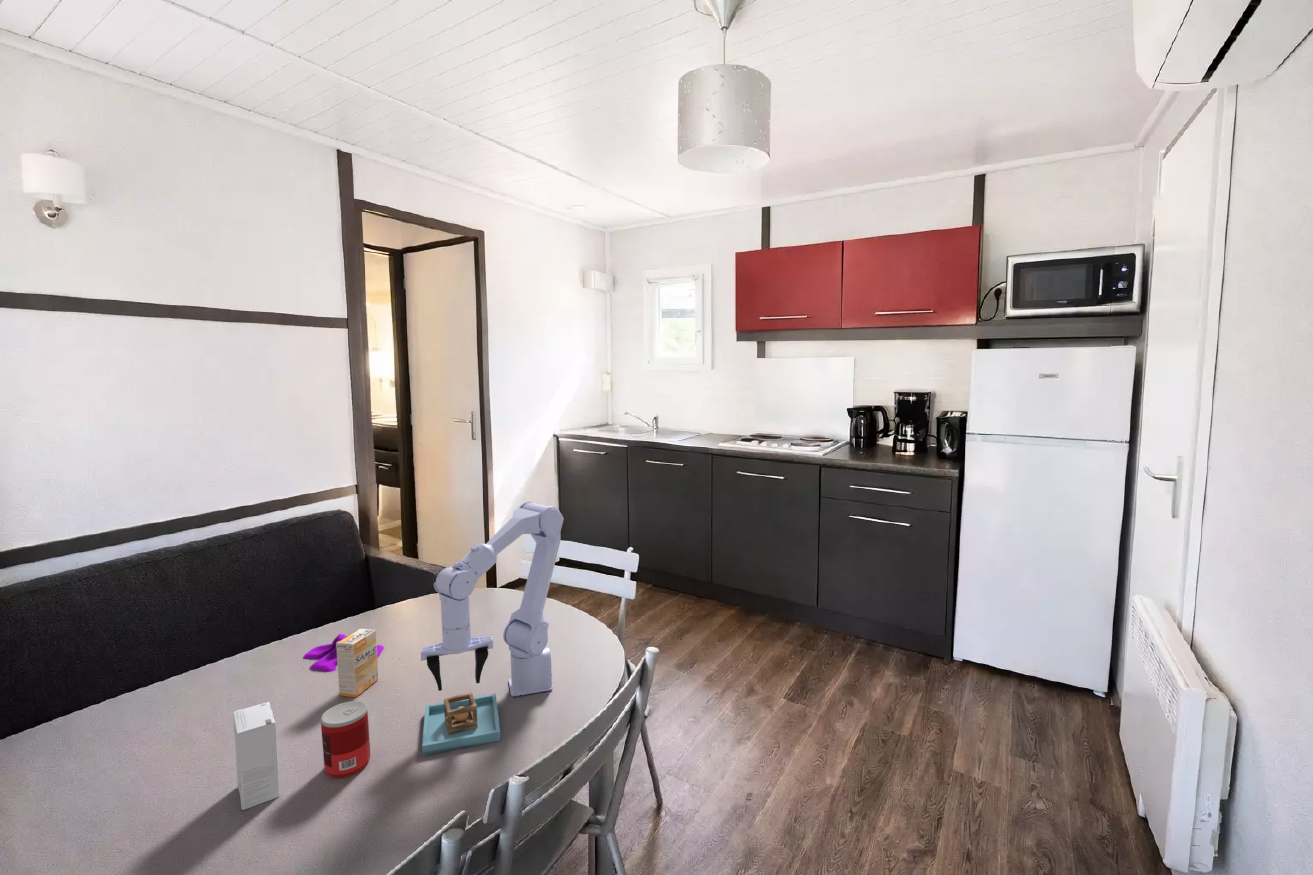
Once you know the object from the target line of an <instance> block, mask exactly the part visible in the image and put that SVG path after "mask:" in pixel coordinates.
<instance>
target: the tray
mask: <svg viewBox="0 0 1313 875" xmlns="http://www.w3.org/2000/svg"><path fill="white" fill-rule="evenodd" d="M496 694H497V693H491V694H486V695H479V696H473V697H474V700H475V702H476V705H477V725H478V728H475V729H471V730H467V731H463V732H460V733H456V734H452V735H449V734H448V730H447V727H446V723H445V713H444V701H443V702H437V703H431V704H425V707H424V708H425V709H424V719H423V720H424V722H423V729H422V730H423V732H422V744H421V750H422V753H421V754H422V756H427V755H433V754H438V753H443V752H448V751H453V750H458V749H463V748H469V747H474V746H479V745H484V744H489V743H495V742H500V741H501V728H500V727H501V726H500V718H499V710H498V702H497V695H496ZM449 706H450V709H451V710H453V709H457V708H458V707H461V706H463V707H465V706H469V699H466V700H462V701H458V702H454V703H450V704H449Z"/></svg>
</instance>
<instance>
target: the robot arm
mask: <svg viewBox="0 0 1313 875" xmlns="http://www.w3.org/2000/svg"><path fill="white" fill-rule="evenodd" d="M564 520H565V519H564V516H563V514H562V513H561V511H560V510H559V508H558V507H556V506H549V505H546V504H540V503H536V502H532V501H524V502H523V503H522V504H521V505H520V506H519V507H517V508H516V509H515V510H514V511H513V515H512V517H511V518H510V519H509V520H508V521H507V522H506V523H505V524H504V525H503V526H502V527H501V528H500V529H499V530H498V531H497V532H496V533H495V534H494V535H493V536H492V537H491V538H490V539H489V540H488V541H487V542H486V543H478V544H477V545H476V544H473V546H471V547H470V550H469V552H467V553H466V554H465V555H464V556H462V558H460V559H459V560H457V561H455V562H454V564H453V565H452V566H449V567H444V568H443V569H442V570H441V571H440V572H439V573H438V574H437V576H436V580H435V582H434V583H433V588H434V590H435V591H436V592H437V593H438V595H439V601H440V613H441V615H440V616H441V618H440V619H441V632H442V635H441V636H442V641H440V642H438V643H434V644H432V645H428V646H424V647H420V661H421V662H423V661H426V665H427V667H428V670H429V671H430V673H431V674H432V676H433V677H434V680H435V683H436V685H437V690H438V692H440V691H443V689H442V688H443V686H442V685H443V684H442V678H441V664H440V657H443V656H448V655H458V654H459V655H460V654H462V653H466V652H472V651H474V660H475V661H474V662H475V667H474V669H475V670H474V673H475V674H474V675H475V676H474V677H475V683H476V684H477V685H478V684H479V683H480V682H481V676H482V671H483V667H484V666H485V663H486V661H487V659H488V657H489V650H491V649H494V640H493V636H491V635H490V636H482V637H481V636H479V637H478V636H473V637H472V634H471V633H472V632H471V631H472V630H471V629H472V628H471V612H470V611H471V610H470V606H471V605H470V596H471V595H472V593H473V591H474V589H475V586H476V584H477V583H478V581H479V579H480V578H481V577H483V575H485V574H486V573H487V572H488V571H489V570H490V569H492V567H493V566H494V565H495V564H496V563H497V556H498V555H499V554H500V553H501V552H502V551H504V550H505V549H507V547H509V546H510V545H511V544H513V543H514V542H515V541H516V540H518V539H519V538H520V537H521V536H523V535H531V537H532V539H533V540H534V541H535V543H536V544H535V548H534V552H533V556H532V559H531V563H530V564H531V565H530V568H529V571H528V576H527V580H526V584H525V588H524V592H523V595H522V599H521V603H520V607H519V608H518V609H517V610H515V611H514V612H511V615H510V618H509V621H508V622H507V624H506V626H505V628H504V629H503V636H502V637H503V638H502V639H503V641H504V642H505V644H506V645H508V650H509V651H510V677H511V678H509V679H508V685H509V690H510V691H509V692H510V696H511V697H512V698H514V696H515V697H520V695H521V696H526V695H531V694H537V693H544V692H548V691H549V692H550V691H552V690H553V681H552V680H553V679H552V676H553V675H552V674H553V672H552V656H551V650H550V647H549V646H547V645H548V642H549V635H548V633H549V632H548V631H549V630H548V629H549V622H548V620H547V618H546V616H545V615H544V608H545V606H546V605H545V604H546V600H547V596H548V592H549V590H550V585H551V580H552V576H553V572H554V570H555V569H554V568H555V566H556V565H555V563H556V560H557V557H558V552H559V548H560V544H561V540H562V539H561V537H562V535H561V531H562V527H563V524H564Z"/></svg>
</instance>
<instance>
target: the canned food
mask: <svg viewBox="0 0 1313 875" xmlns="http://www.w3.org/2000/svg"><path fill="white" fill-rule="evenodd" d="M320 725H321V726H320V728H321V742H322V743H321V744H322V755H323V768H324V770H325V771H324V772H325V773H326V775H327V776H328V777H330V778H334V779H335V778H336V779H340V778H341V779H342V778H346V777H351V776H352V775H355V774H357V773H358V772H360V771H362V770H363V769H365V767H366V766H367V765H368V763H369V762H370V758H371V746H370V745H371V744H370V741H371V740H370V728H369V712H368V705H367V704H366V703H365V702H363V701H359V700H354V701H353V700H351V701H345V702H342V703H339V704H335V705H334V706H332V707H330V708H329V709H327V710H326V711H324V712H323V714H322V715H321V717H320Z"/></svg>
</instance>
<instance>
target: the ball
mask: <svg viewBox="0 0 1313 875" xmlns="http://www.w3.org/2000/svg"><path fill="white" fill-rule="evenodd" d="M461 707H463V706H461ZM461 707H458V708H461ZM468 715H469V712H467V713H463V714H459V715H455V716H454V718H455V720H456V721H458V722H463V721H465V720H466V719H467V718H468Z"/></svg>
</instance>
